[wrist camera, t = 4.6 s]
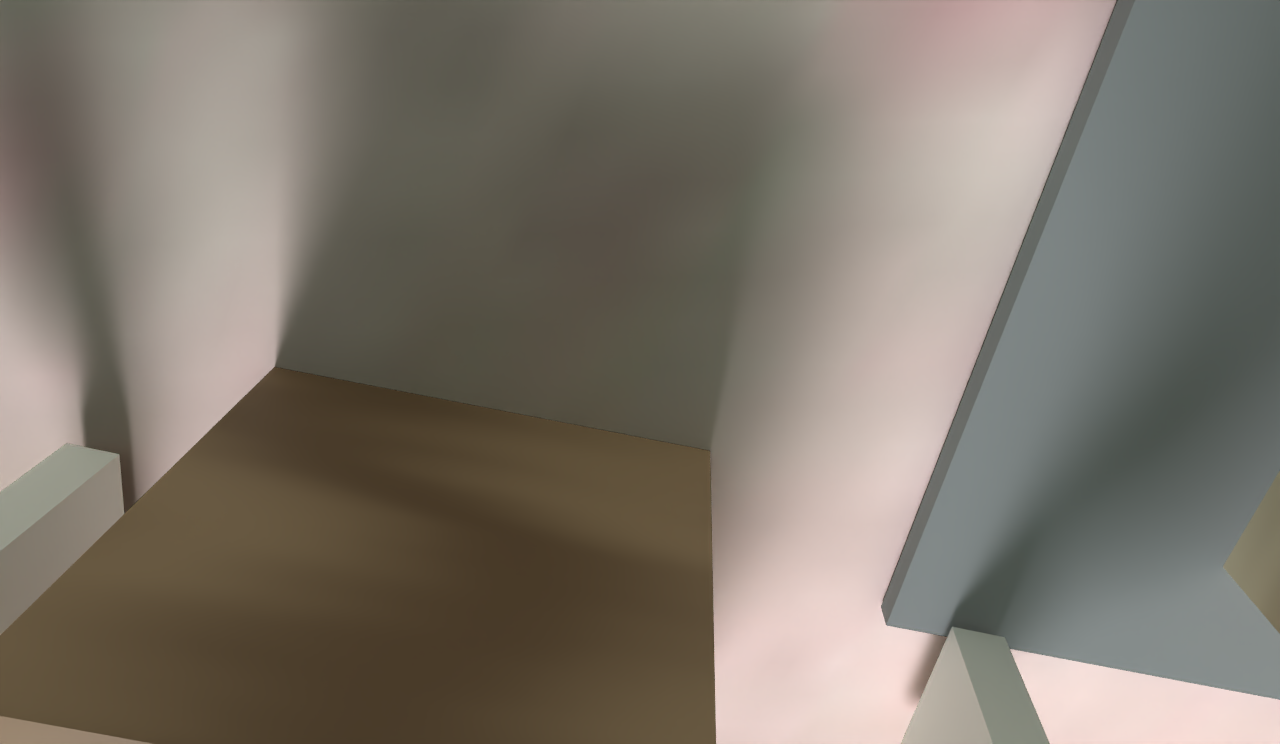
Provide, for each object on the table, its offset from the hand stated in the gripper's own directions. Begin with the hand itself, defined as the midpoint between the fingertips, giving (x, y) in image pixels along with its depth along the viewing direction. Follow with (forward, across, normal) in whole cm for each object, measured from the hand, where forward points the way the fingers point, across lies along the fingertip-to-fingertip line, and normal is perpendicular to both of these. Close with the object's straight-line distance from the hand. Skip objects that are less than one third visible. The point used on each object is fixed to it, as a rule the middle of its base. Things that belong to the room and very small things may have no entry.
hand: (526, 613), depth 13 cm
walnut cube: (+1, -1, 0) cm, 1 cm away
